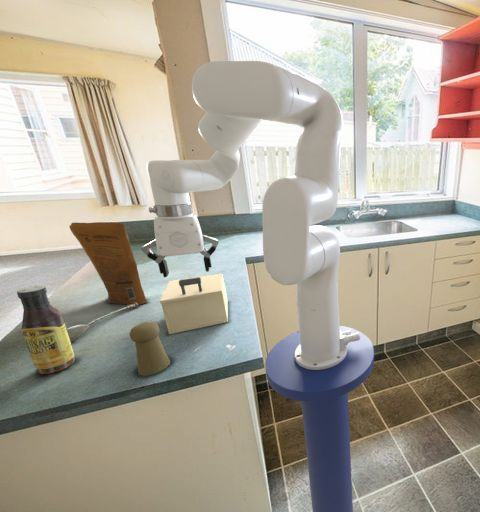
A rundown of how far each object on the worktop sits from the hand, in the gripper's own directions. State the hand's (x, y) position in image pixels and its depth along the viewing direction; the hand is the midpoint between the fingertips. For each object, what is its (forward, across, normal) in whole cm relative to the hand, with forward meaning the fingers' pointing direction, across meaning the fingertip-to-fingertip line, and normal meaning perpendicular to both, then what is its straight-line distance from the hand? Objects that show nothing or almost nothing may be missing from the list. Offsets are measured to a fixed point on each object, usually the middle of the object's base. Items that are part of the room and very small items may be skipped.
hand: (187, 272), depth 81 cm
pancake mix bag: (+17, -24, +28) cm, 41 cm away
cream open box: (+17, 0, +6) cm, 17 cm away
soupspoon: (+17, -26, +14) cm, 34 cm away
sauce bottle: (+17, -28, -6) cm, 33 cm away
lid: (+7, 0, +5) cm, 9 cm away
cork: (+17, -8, -16) cm, 25 cm away
